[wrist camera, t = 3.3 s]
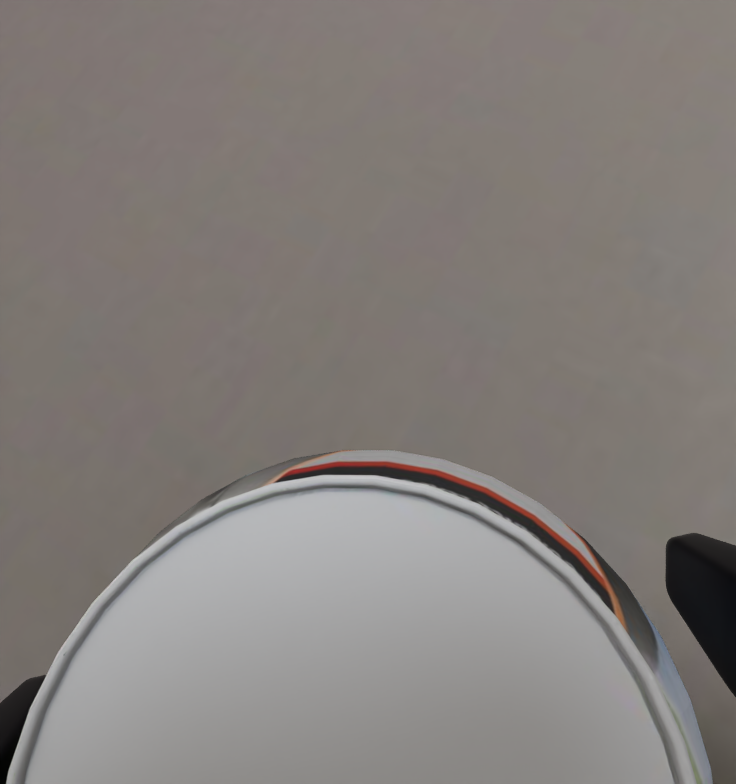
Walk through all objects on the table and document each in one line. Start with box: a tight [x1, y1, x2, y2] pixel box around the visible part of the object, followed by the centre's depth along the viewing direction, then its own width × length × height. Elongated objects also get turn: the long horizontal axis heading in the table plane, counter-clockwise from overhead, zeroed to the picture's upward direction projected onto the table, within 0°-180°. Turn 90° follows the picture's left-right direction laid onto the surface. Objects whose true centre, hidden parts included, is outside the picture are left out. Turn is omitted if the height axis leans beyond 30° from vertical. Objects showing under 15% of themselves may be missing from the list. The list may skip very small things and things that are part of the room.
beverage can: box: [6, 450, 713, 784], centre depth 10 cm, size 6×7×12 cm
